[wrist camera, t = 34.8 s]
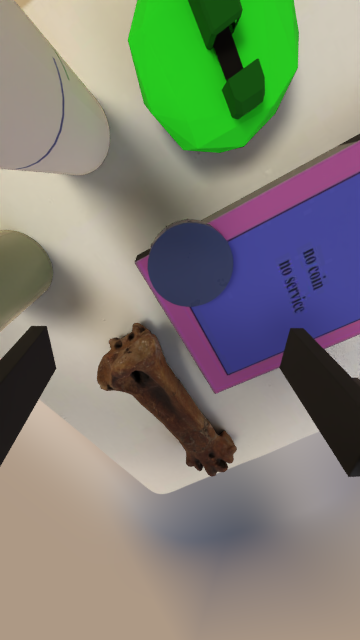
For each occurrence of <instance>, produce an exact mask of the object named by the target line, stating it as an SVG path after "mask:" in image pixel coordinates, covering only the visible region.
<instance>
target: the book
mask: <svg viewBox="0 0 360 640" xmlns="http://www.w3.org/2000/svg"><path fill="white" fill-rule="evenodd" d="M201 221H202V222H205V223H207V224H210V225H212V227H214V228H215V229H216V230H217V231H218V232H219V233H220V234H221V235H222V236H223V237H224V238H225V239H226V241H227V242H228V244H229V246H230V248H231V251H232V255H233V271H232V275H231V278H230V281H229V283H228V285H227V286H226V288H225V289H224V290H223V292H222V293H221V294H220V295H219V296H217V297H216V298H215V299H213V300H212V301H210V302H208V303H206V304H203V305H200V306H194V307H184V306H178V305H175V304H172V303H170V302H168V301H167V300H165V299H164V298H162V297H161V296H160V295H159V294H158V293H157V291H156V290H155V289H154V287H153V286H152V283H151V281H150V278H149V275H148V269H147V267H148V257H149V253H150V249H151V248H150V249H148V250H146V251H145V252H143V253H141V254H139V255H137V258H136V260H135V264H136V266H137V267H138V269H139V271H140V272H141V274H142V276H143V277H144V279H145V280H146V282H147V284H148V285H149V287H150V289H151V290H152V292H153V294H154V295H155V297H156V298H157V300H158V302H159V303H160V305H161V307H162V308H163V310H164V312H165V313H166V315H167V316H168V318H169V320H170V321H171V323H172V325H173V326H174V328H175V330H176V331H177V333H178V334H179V336H180V338H181V339H182V341H183V343H184V344H185V346H186V348H187V349H188V351H189V352H190V354H191V356H192V357H193V359H194V361H195V362H196V364H197V365H198V367H199V369H200V370H201V372H202V374H203V375H204V377H205V379H206V380H207V382H208V383H209V385H210V387H211V388H212V390H213V392H214V393H215V394H216V393H219V392H221V391H223V390H226V389H228V388H231V387H233V386H236V385H238V384H240V383H243V382H245V381H248V380H250V379H253V378H255V377H257V376H260V375H262V374H265V373H267V372H270V371H272V370H274V369H277V368H279V367H280V363H281V360H282V356H283V353H284V349H285V345H286V342H287V338H288V334H289V331H290V328H304V329H305V330H306V331H307V332H308V333H309V334H310V335H311V336H312V337H313V338H314V339H315V340H316V341H317V343H318V344H319V345H320V346H321V347H322V348H323V349H325V348H328V347H330V346H333V345H335V344H338V343H340V342H342V341H345V340H347V339H350V338H352V337H355V336H357V335H359V334H360V134H359V135H357V136H355V137H353V138H351V139H350V140H348V141H346V142H344V143H342V144H340V145H339V146H337V147H335V148H333V149H331V150H329V151H328V152H326V153H324V154H322V155H320V156H318V157H317V158H315V159H313V160H311V161H309V162H308V163H306V164H304V165H302V166H300V167H298V168H297V169H295V170H293V171H291V172H289V173H287V174H286V175H284V176H282V177H280V178H278V179H276V180H275V181H273V182H271V183H269V184H267V185H265V186H264V187H262V188H260V189H258V190H256V191H254V192H253V193H251V194H249V195H247V196H245V197H243V198H242V199H240V200H238V201H236V202H234V203H232V204H231V205H229V206H227V207H225V208H223V209H222V210H220V211H218V212H216V213H214V214H212V215H211V216H209V217H207V218H205V219H203V220H201Z"/></svg>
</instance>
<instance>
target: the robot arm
mask: <svg viewBox="0 0 360 640" xmlns="http://www.w3.org/2000/svg"><path fill="white" fill-rule="evenodd" d="M279 368H280V369H281V371H282V372H283V374H284V376H285V377H286V379H287V380H288V382H289V383H290V385H291V387H292V388H293V390H294V391H295V393H296V395H297V396H298V398H299V399H300V401H301V402H302V404H303V406H304V407H305V409H306V410H307V412H308V413H309V415H310V417H311V418H312V420H313V421H314V423H315V425H316V426H317V428H318V429H319V431H320V432H321V434H322V436H323V437H324V439H325V440H326V442H327V443H328V445H329V447H330V448H331V449H332V451H333V453H334V455H335V456H336V457H337V459H338V461H339V462H340V464H341V466H342V467H343V469H344V470H345V472H346V474H347V475H348V477H356V476H360V380H359V379H358V378H351V377H350V376H349V374H348V373H347V372H346V371H345V370H344V369H343V368H342V367H341V366H340V365H339V364H338V363H337V362H336V361H335V360H334V359H333V358H332V357H331V356H330V355H329V354H328V353H327V352H326V351H325V350H324V349H323V348H322V347H321V346H320V345H319V344H318V343H317V341H316V340H315V339H314V338H313V337H312V336H311V335H310V334H309V333H308V332H307V331H306V330H305V329H304V328H290V331H289V334H288V338H287V342H286V345H285V349H284V353H283V356H282V360H281V363H280V367H279ZM55 370H56V365H55V361H54V357H53V352H52V348H51V343H50V339H49V334H48V330H47V326H31V327H30V328H29V329H28V330H27V331H26V333H25V334H24V335H23V336H22V337H21V338H20V339H19V340H18V341H17V342H16V344H15V345H14V346H13V347H12V348H11V349H10V350H9V351H8V352H7V353H6V354H5V356H4V357H3V358H2V359H1V360H0V465H1V464H2V462H3V460H4V459H5V457H6V455H7V454H8V452H9V450H10V448H11V446H12V445H13V443H14V441H15V440H16V438H17V436H18V434H19V433H20V431H21V429H22V427H23V426H24V424H25V422H26V420H27V419H28V417H29V415H30V413H31V412H32V410H33V408H34V406H35V405H36V403H37V401H38V399H39V398H40V396H41V394H42V392H43V391H44V389H45V387H46V385H47V384H48V382H49V380H50V378H51V377H52V375H53V373H54V371H55Z"/></svg>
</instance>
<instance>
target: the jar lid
mask: <svg viewBox="0 0 360 640" xmlns="http://www.w3.org/2000/svg"><path fill="white" fill-rule="evenodd" d="M147 269H148V275H149V278H150V281H151V283H152V286H153V287H154V289H155V290H156V291H157V293H158V294H159V295H160V296H161V297H162V298H164V299H165V300H167V301H168V302H170V303H172V304H175V305H178V306H184V307H194V306H200V305H203V304H206V303H208V302H210V301H212V300H213V299H215V298H216V297H217V296H219V295H220V294H221V293H222V292H223V290H224V289H225V288H226V286H227V285H228V283H229V281H230V278H231V275H232V271H233V255H232V251H231V248H230V246H229V244H228V242H227V241H226V239H225V238H224V237H223V236H222V235H221V234H220V233H219V232H218V231H217V230H216V229H215V228H214V227H212V225H210V224H207V223H205V222H202V221H199V220H189V219H187V220H181V221H177V222H175V223H172V224H170V225H169V226H166V228H164V229H163V230H162V231H161V232H160V233H159V234H158V235H157V237H156V238H155V240H154V242H153V243H152V244H151V249H150V253H149V257H148V267H147Z"/></svg>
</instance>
